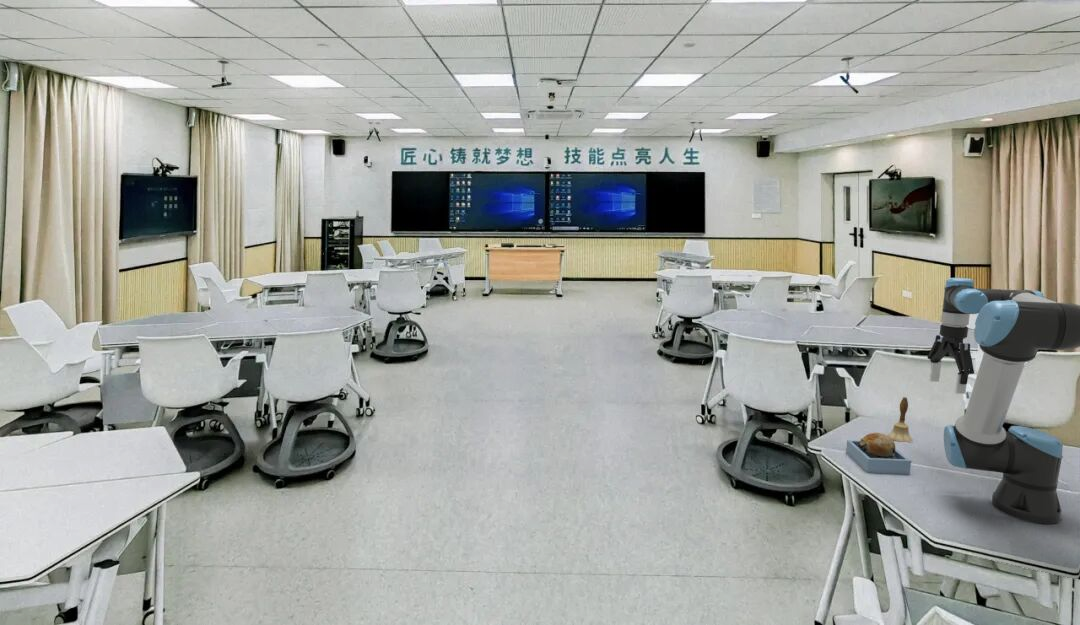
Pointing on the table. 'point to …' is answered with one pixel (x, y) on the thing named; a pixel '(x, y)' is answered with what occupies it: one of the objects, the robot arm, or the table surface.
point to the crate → (878, 460)
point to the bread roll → (878, 445)
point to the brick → (878, 456)
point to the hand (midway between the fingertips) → (946, 387)
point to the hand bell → (901, 425)
